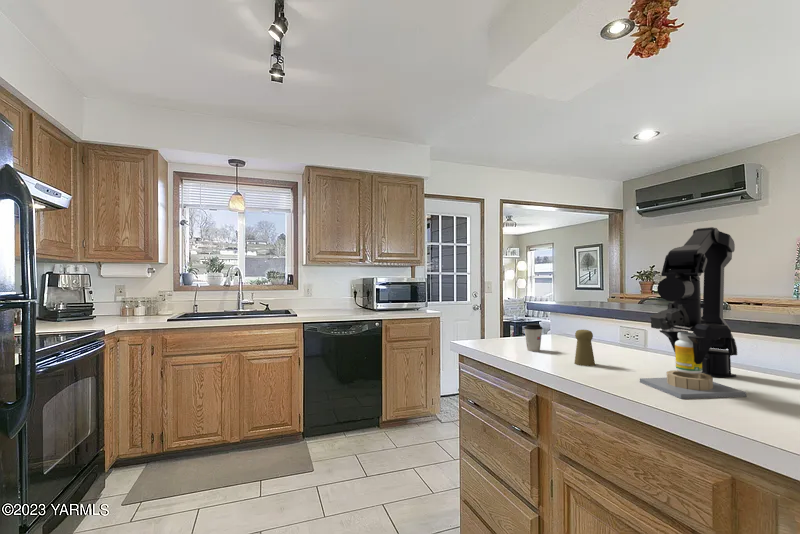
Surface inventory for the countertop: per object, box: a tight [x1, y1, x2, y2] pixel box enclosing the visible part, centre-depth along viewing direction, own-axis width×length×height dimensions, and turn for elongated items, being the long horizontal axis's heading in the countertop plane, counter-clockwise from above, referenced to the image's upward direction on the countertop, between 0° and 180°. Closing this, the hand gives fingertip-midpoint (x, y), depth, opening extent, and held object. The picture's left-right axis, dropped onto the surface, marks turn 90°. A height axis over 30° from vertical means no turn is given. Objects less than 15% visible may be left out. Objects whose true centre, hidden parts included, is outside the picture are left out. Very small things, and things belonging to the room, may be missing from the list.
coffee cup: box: [523, 323, 543, 352], centre depth 148 cm, size 7×7×10 cm
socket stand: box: [639, 369, 747, 400], centre depth 96 cm, size 16×14×4 cm
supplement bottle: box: [674, 331, 702, 374], centre depth 97 cm, size 5×5×10 cm
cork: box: [574, 329, 596, 367], centre depth 125 cm, size 6×6×11 cm
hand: (688, 361), depth 97 cm, fingers closed on supplement bottle, 5 cm apart
